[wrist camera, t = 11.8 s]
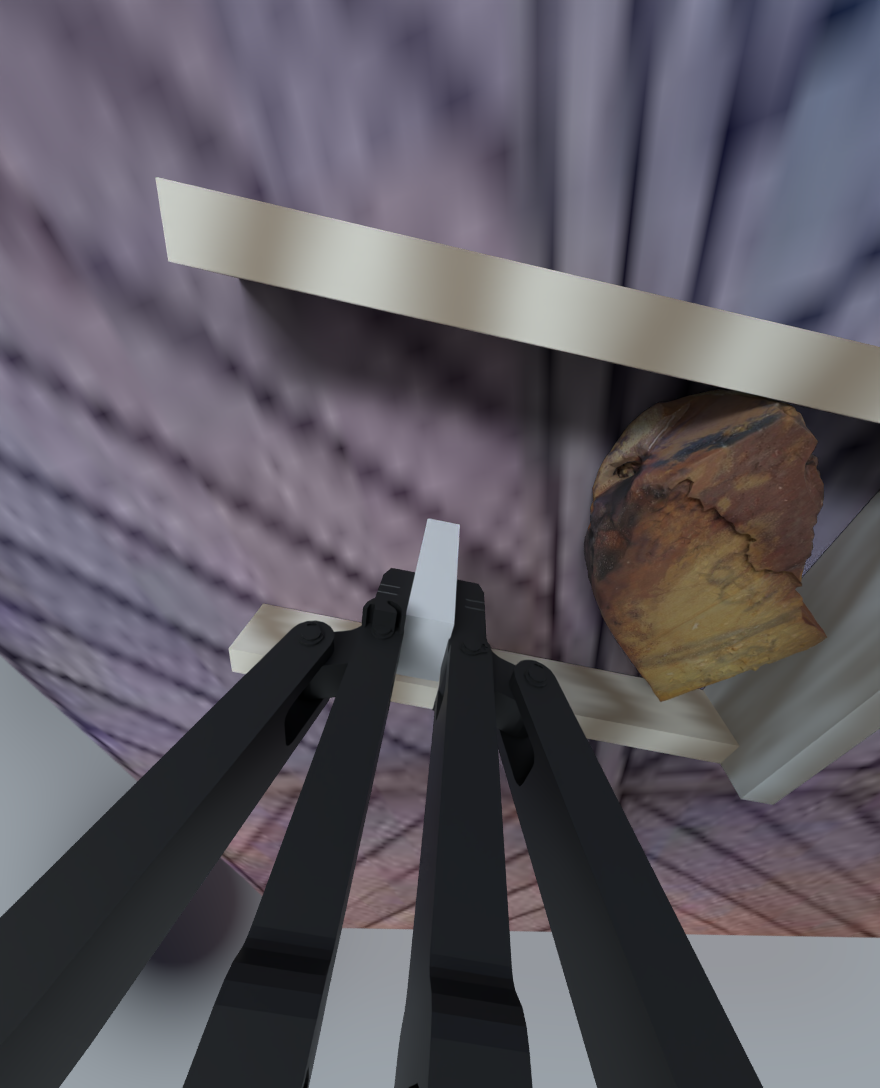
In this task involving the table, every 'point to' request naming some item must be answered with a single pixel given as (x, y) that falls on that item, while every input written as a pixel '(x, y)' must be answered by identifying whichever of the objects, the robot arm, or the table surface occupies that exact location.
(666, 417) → the stone
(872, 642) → the bay
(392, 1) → the table surface
